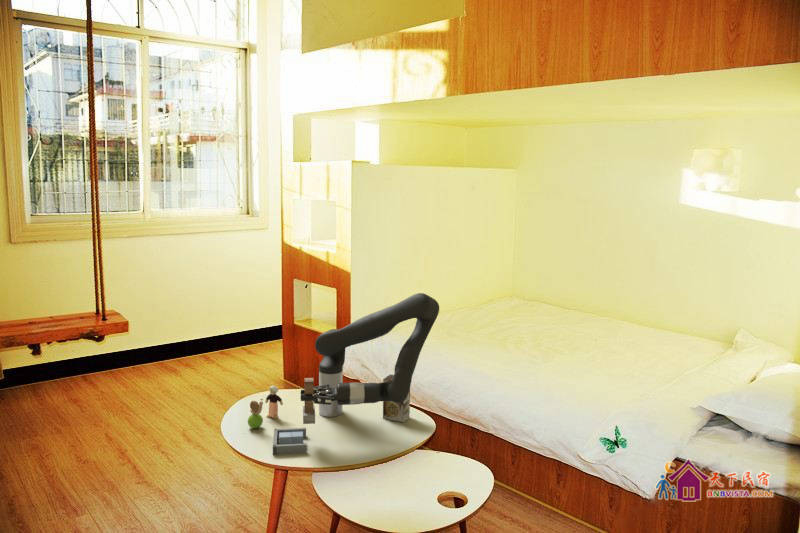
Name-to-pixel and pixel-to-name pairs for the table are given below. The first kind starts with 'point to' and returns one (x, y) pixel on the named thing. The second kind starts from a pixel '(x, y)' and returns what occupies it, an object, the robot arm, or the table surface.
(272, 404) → the grandmother figurine
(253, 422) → the snail figurine
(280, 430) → the grey u-shaped wall
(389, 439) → the table surface
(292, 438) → the block
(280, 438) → the block
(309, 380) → the tall wooden pillar
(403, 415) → the coffee box
